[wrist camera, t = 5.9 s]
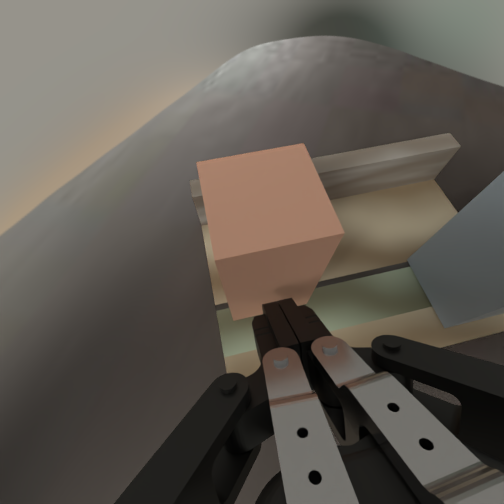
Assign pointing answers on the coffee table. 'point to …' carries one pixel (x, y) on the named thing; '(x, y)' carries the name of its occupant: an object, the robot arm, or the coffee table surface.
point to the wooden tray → (367, 251)
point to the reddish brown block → (268, 226)
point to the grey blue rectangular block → (466, 261)
